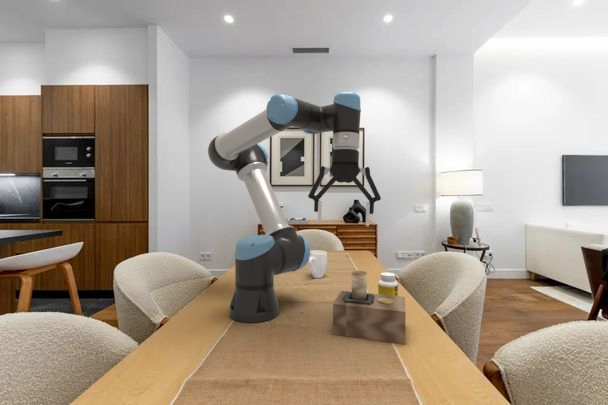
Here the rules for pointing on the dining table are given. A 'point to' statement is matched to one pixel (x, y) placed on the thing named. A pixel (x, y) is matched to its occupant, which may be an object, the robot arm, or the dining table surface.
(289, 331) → the dining table surface
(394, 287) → the pill bottle
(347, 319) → the socket block
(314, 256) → the mug
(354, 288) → the oak peg
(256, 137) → the robot arm
